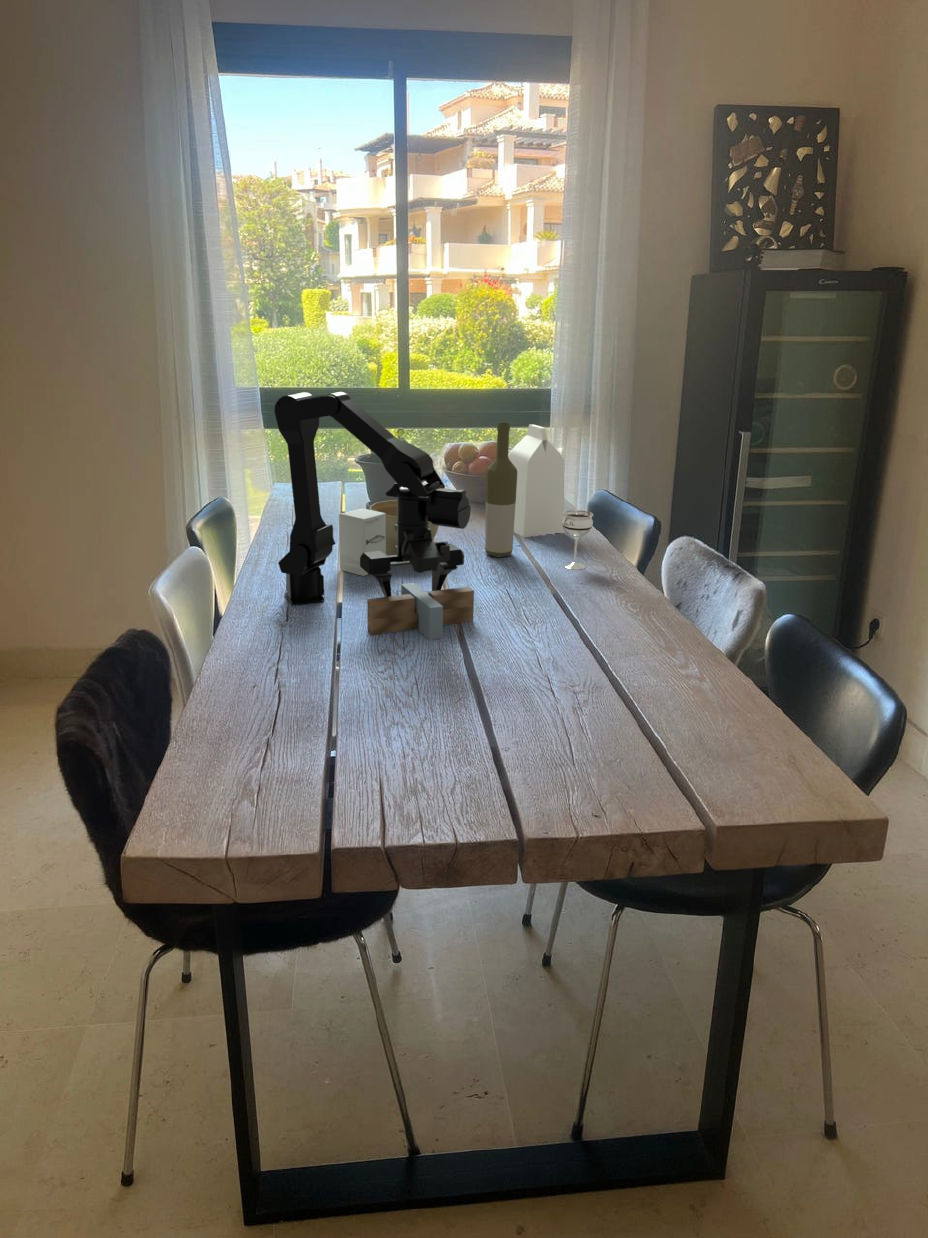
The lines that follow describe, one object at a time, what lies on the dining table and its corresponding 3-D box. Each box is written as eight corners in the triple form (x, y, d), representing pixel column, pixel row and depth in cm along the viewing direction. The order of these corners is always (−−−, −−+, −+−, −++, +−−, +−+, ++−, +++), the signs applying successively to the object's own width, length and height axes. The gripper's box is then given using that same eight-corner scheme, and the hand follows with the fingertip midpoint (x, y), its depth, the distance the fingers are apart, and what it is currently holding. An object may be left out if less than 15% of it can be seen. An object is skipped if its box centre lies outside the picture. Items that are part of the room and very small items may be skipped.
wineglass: (589, 562, 214) (593, 510, 210) (590, 571, 208) (594, 518, 204) (559, 560, 215) (562, 509, 210) (559, 569, 208) (562, 516, 204)
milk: (501, 525, 243) (505, 423, 234) (540, 521, 247) (545, 421, 238) (523, 537, 233) (528, 431, 223) (563, 533, 237) (570, 429, 228)
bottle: (514, 559, 215) (520, 426, 204) (483, 558, 215) (487, 425, 205) (513, 550, 222) (519, 421, 211) (483, 549, 222) (487, 420, 211)
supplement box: (363, 577, 200) (363, 519, 196) (338, 570, 205) (337, 513, 200) (387, 569, 206) (386, 512, 201) (362, 562, 210) (361, 506, 206)
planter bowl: (431, 566, 208) (432, 518, 205) (361, 560, 211) (360, 513, 207) (447, 547, 223) (448, 501, 219) (381, 541, 226) (381, 497, 222)
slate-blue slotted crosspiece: (401, 614, 180) (401, 584, 178) (413, 612, 181) (413, 582, 179) (429, 639, 168) (429, 608, 166) (442, 637, 169) (442, 606, 167)
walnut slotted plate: (372, 635, 169) (371, 603, 167) (367, 630, 171) (367, 599, 169) (473, 620, 177) (474, 590, 175) (467, 616, 179) (468, 586, 177)
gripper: (379, 537, 161) (380, 623, 167) (478, 528, 168) (475, 610, 174) (358, 521, 170) (359, 603, 176) (452, 513, 178) (451, 591, 183)
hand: (412, 602), depth 177 cm, fingers open, 9 cm apart
